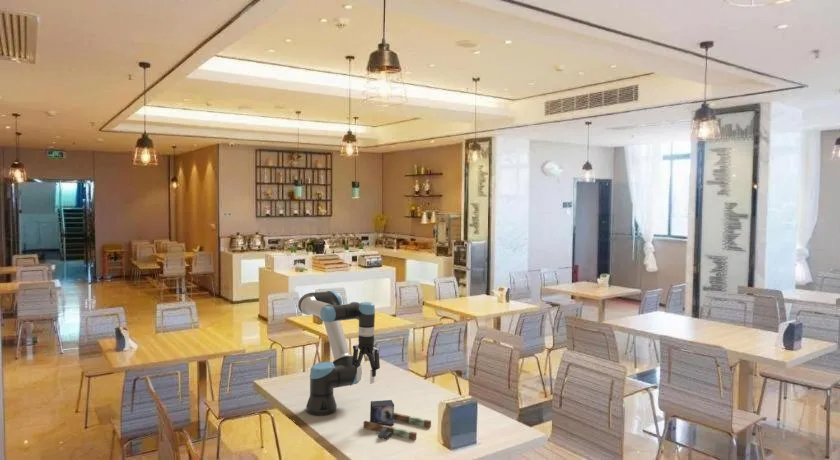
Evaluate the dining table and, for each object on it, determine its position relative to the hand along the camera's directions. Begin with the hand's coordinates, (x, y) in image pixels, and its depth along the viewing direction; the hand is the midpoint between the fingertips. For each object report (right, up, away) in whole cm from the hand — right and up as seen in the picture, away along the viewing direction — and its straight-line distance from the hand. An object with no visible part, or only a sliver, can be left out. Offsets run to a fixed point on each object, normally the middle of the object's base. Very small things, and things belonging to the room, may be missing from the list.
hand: (365, 381), depth 280 cm
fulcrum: (+10, -21, -17) cm, 29 cm away
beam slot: (+16, -20, -7) cm, 26 cm away
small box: (+8, -20, -3) cm, 22 cm away
